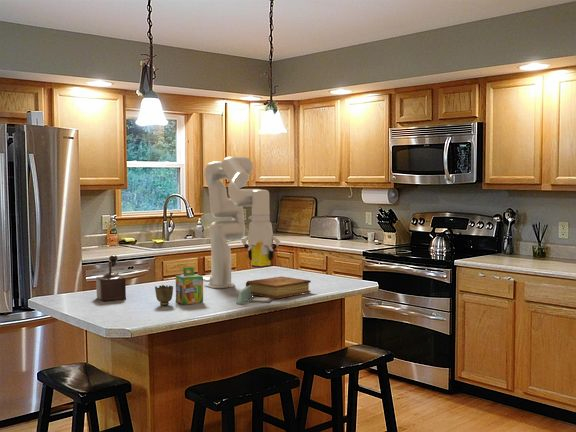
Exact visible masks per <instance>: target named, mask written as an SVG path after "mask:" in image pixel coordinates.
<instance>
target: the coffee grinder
mask: <svg viewBox="0 0 576 432" xmlns="http://www.w3.org/2000/svg"><path fill="white" fill-rule="evenodd" d="M118 259H119V258H118V255H114V254H112V255H110V256H109V258H108V265H106V266H105V267H106V269H107V268H108V269H109V271H108V273H105V274H103V276H97V277H95V284H96V286H95V287H96V288H95V289H96V299H97V300H99V301H100V302H113V301H114V302H115V301H122V300H127V291H126V290H127V289H126V288H127V285H126V281H127V280H126V278H125V277H123V275H121V274H119V272H118V271H117V273H116V272H113V271H112V267H116V266H118V264H117V262H118Z"/></svg>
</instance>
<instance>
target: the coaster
mask: <svg viewBox="0 0 576 432" xmlns="http://www.w3.org/2000/svg"><path fill="white" fill-rule="evenodd" d="M272 299H273V298H270V297H264V296H253V297H250V298H249V299H248V303H255V302H267V303H266V304H270V303H271V302H272V301H273V300H274V299H273V300H272ZM271 300H272V301H271ZM270 301H271V302H270ZM269 302H270V303H269Z"/></svg>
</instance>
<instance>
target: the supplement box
mask: <svg viewBox="0 0 576 432" xmlns="http://www.w3.org/2000/svg"><path fill="white" fill-rule="evenodd" d="M269 251H270V249H269V247H268V246H264V245H263V242H257V245H256V246H252V248H251V256H252V260H251V267H252V268H257V269H258V268H259V269H262V268H268V267H271V261H270V260H269Z"/></svg>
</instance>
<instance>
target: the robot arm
mask: <svg viewBox="0 0 576 432" xmlns="http://www.w3.org/2000/svg"><path fill="white" fill-rule="evenodd" d="M253 168H254V167H253V162H252V160H251V159H250V158H249V157H247V156H227V157H224V159H223V160H222V161H212V162H209V163H207V165H205V168H204V178H205V183H206V185H207V189H208V195H209V209H210V214H211V216H212V217H213V218H215V219H231V220H216V221H213V222H211V223H210V224H209V227H208V233H209V239H210V251H211V252H210V257H211V260H210V261H211V262H210V263H211V264H210V265H211V268H210V269H211V270H210V271H211V276H210V277H204V276H203V283H204V282H205V283H208V286H207V287H209V288H213V289H227V288H228V287H229V288H233V287H235V286H236V285H235V283H234V282H233V281H232V250H231V249H232V248H231V247H230V245H229V243H227V241H236V240H237V241H238V240H241V243H242V245H243V246H244V248H246V249H247V252H248V259H249V261H252V256H251V248H252V246H256V245H257V242H263V245H264V246H268V247H269V249H270V251H269V260H270V262H271V261H273V259H274V250H275V249H276V248H278V246H279V245H280V244H281V240H279V239H278V238H276V237H275V236H274V233H273V231H274V230H273V226H272V222H271V221H270V220H271V219H270V192H269V190H267V189H260V188H243V187H245V186H246V185H247V184H248V182H249V180H250V176H249V175H251V173H252V172H253ZM221 180H229V183H228V187H226V185H225V184H224V183H223V181H221ZM227 191H228V192H227ZM227 193H228V194H227ZM228 196H229V197H228ZM244 207H251V215H249V216H248V220H250V222H249V226H248V234H247V235H248V236H246V237H245V233H246V229H245V228H246V227H245V226H246V225H245V216H244V215H245V214H244ZM244 237H245V238H244ZM274 242H275V244H273V243H274ZM234 285H235V286H234Z"/></svg>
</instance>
